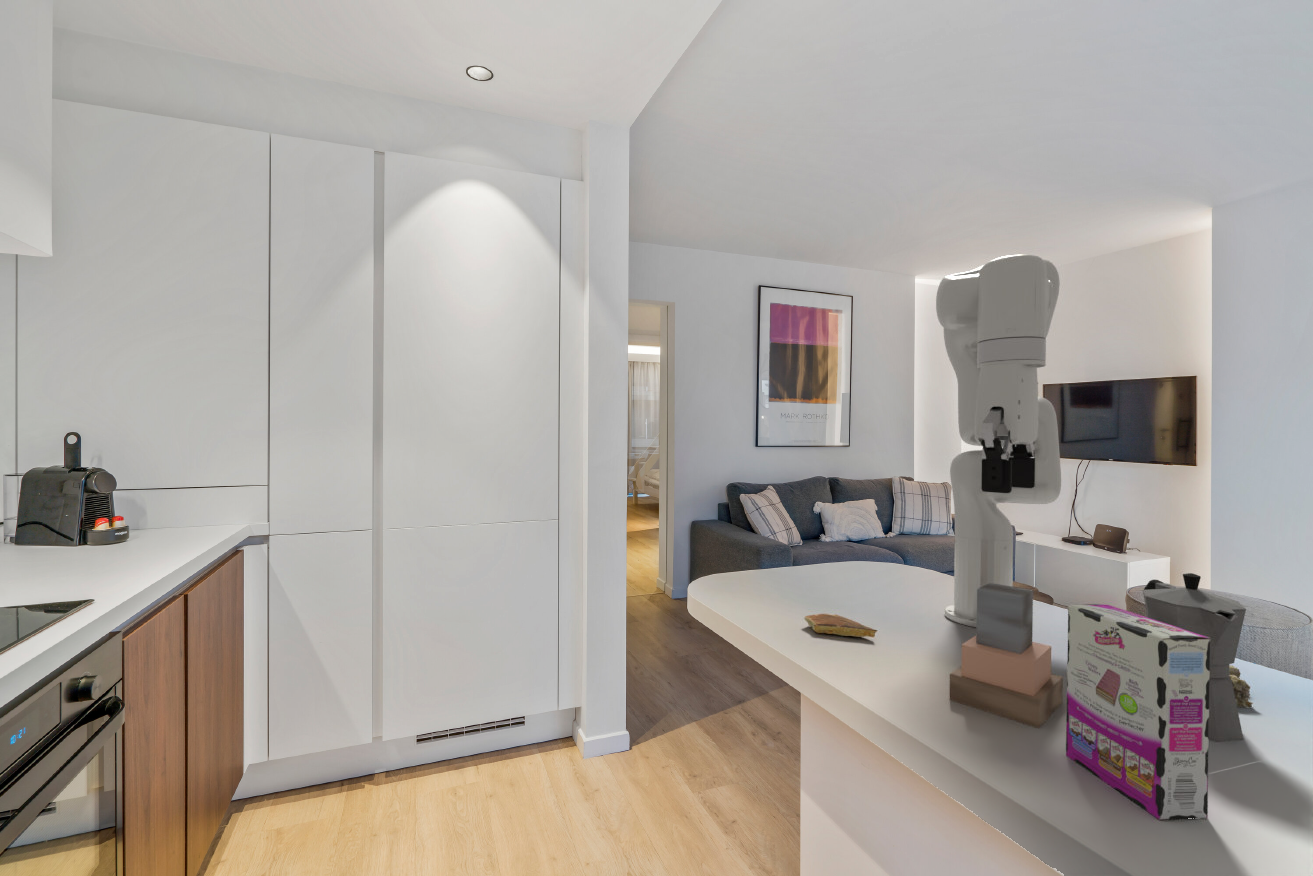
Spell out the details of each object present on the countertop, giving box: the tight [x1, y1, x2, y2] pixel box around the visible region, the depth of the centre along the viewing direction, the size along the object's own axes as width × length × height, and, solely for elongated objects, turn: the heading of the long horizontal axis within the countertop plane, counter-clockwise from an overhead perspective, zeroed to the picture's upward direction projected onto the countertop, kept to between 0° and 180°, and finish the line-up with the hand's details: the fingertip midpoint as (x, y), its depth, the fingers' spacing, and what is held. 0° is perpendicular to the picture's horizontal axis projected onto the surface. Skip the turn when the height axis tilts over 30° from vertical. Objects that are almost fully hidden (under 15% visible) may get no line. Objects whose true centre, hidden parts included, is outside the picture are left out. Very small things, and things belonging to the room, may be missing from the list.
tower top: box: [960, 634, 1052, 696], centre depth 75 cm, size 8×8×4 cm
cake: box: [1229, 664, 1254, 709], centre depth 79 cm, size 10×10×5 cm
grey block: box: [976, 583, 1034, 654], centre depth 76 cm, size 5×5×7 cm
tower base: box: [949, 666, 1064, 729], centre depth 76 cm, size 10×10×4 cm
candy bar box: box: [1065, 603, 1210, 822], centre depth 58 cm, size 11×5×16 cm, turn 5°
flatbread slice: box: [804, 613, 878, 638], centre depth 101 cm, size 11×8×2 cm
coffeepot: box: [1142, 572, 1247, 743], centre depth 71 cm, size 15×9×18 cm, turn 167°
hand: (1008, 489), depth 75 cm, fingers open, 9 cm apart
